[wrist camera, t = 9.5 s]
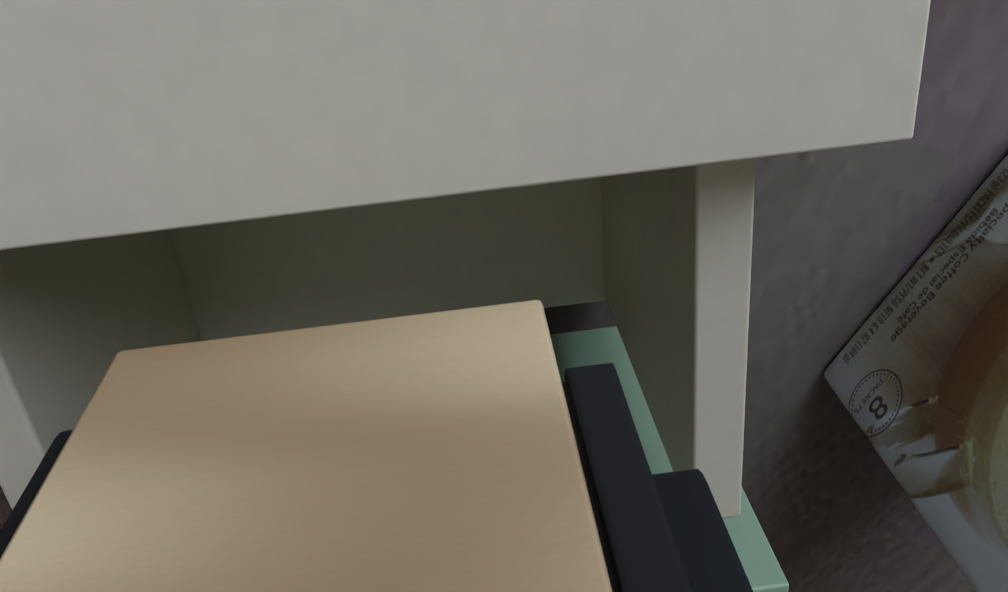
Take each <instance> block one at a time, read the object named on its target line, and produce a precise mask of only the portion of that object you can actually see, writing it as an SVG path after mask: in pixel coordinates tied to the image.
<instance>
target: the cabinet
mask: <svg viewBox="0 0 1008 592" xmlns="http://www.w3.org/2000/svg"><path fill="white" fill-rule="evenodd" d="M930 2H931V0H0V250H6V249H14V248H22V247H30V246H39V245H47V244H55V243H63V242H72V241H80V240H88V239H96V238H104V237H113V236H121V235H129V234H137V233H146V232H154V231H162V230H170V229H178V228H187V227H195V226H203V225H211V224H220V223H228V222H236V221H244V220H252V219H261V218H269V217H277V216H285V215H294V214H302V213H310V212H318V211H326V210H335V209H343V208H351V207H359V206H368V205H376V204H384V203H392V202H400V201H409V200H417V199H425V198H433V197H442V196H450V195H458V194H466V193H474V192H483V191H491V190H499V189H507V188H516V187H524V186H532V185H540V184H548V183H557V182H565V181H573V180H581V179H590V178H598V177H606V176H614V175H622V174H631V173H639V172H647V171H655V170H664V169H672V168H680V167H688V166H697V165H705V164H713V163H721V162H729V161H738V160H746V159H754V158H762V157H771V156H779V155H787V154H795V153H803V152H812V151H820V150H828V149H836V148H845V147H853V146H861V145H869V144H877V143H886V142H894V141H902V140H909V139H911V138H912V137H913V131H914V123H915V116H916V108H917V101H918V93H919V85H920V78H921V70H922V63H923V55H924V48H925V40H926V32H927V25H928V17H929V10H930Z"/></svg>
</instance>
